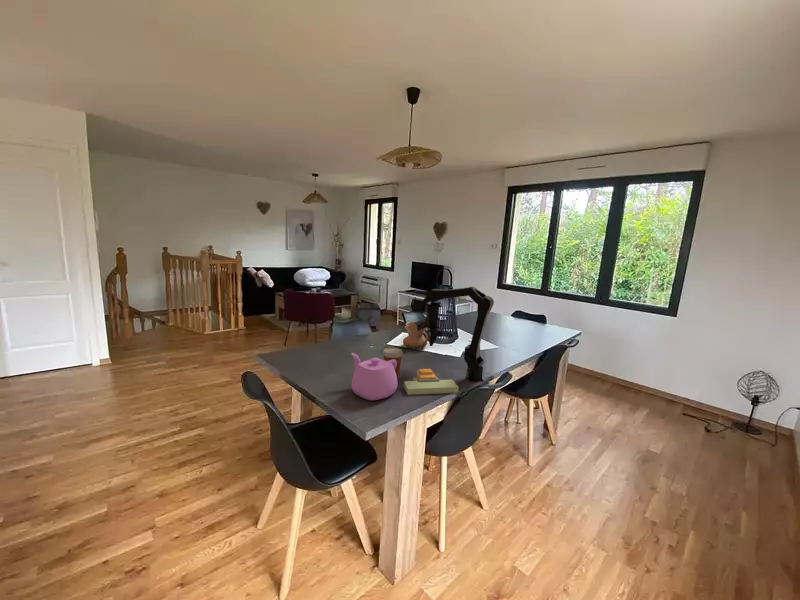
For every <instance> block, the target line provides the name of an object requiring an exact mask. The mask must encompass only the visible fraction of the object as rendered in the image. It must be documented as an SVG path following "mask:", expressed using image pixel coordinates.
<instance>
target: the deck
mask: <svg viewBox="0 0 800 600" xmlns="http://www.w3.org/2000/svg"><path fill="white" fill-rule="evenodd" d="M412 378H413V379H412V380H407V381H406V380H404V381H403V388H404V391H405V392H406V395H412V396H413V395H434V394H457V393H459V388H460V387H459V386H458V385H457V383H456V382H455V381H454V380H453V379H440V378H438V376H436V379H419V381H417V377H412Z"/></svg>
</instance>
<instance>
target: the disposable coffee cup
mask: <svg viewBox="0 0 800 600" xmlns="http://www.w3.org/2000/svg"><path fill="white" fill-rule="evenodd" d="M403 355H404V352H403V350H402V349H401V348H397V347H386V348H384V349H383V351H382V356H383V360H385V361H389V360H393V359H394V360H396V361H397V365H396V368H395V372H396V376H397V377H398V376H399V375H400V369H401V364H402V362H401V361H402V357H403Z"/></svg>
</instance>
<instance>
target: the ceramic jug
mask: <svg viewBox="0 0 800 600" xmlns="http://www.w3.org/2000/svg"><path fill="white" fill-rule="evenodd" d="M415 322H416V321H410V322H405V326H404V329H406V332H407V336H406V337H404V338H403V340H402V344H403V345H404V346H405V347H406V348H409V349H412V350H413V349H415V350H416V349H417V350H419V349H423V348H425V347H426V346H427V345H428V342H429V339H428V335H427V333H426V332H425V331H424V330H426V328H424V329H421V330H419V331H418V330H417V329H416V326H415ZM424 335H425V337H424Z"/></svg>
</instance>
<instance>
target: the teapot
mask: <svg viewBox="0 0 800 600" xmlns="http://www.w3.org/2000/svg"><path fill="white" fill-rule="evenodd" d="M351 356H352V357H353V359H354V373H353V376H352V380H351V389H352V392H353V393H354V394H355V395H357V396H358V397H360V398H362V399H364V400H365V399H366V400H368V401H379V400H381V399H385V398H388V397H390V396H392V395H393V394H394V393H395V392H396V390H397V388H398V376H396V372H395V368H396V365H397V361H396V360H394V359H393V360H389V361H385V360H384V359H380V358H379V357H372V358H370V359H366V360H364V361H362V362H361V359H360V357H359V356H358V354H357V353H355V352H351Z"/></svg>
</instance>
